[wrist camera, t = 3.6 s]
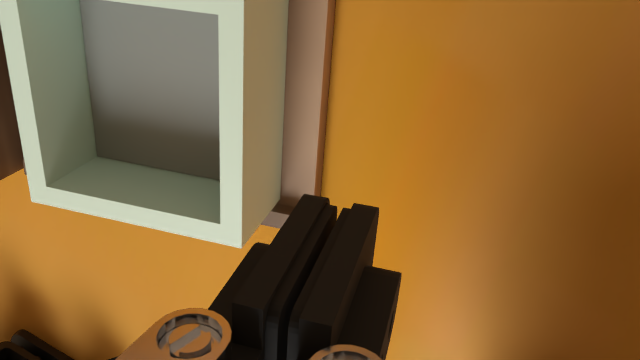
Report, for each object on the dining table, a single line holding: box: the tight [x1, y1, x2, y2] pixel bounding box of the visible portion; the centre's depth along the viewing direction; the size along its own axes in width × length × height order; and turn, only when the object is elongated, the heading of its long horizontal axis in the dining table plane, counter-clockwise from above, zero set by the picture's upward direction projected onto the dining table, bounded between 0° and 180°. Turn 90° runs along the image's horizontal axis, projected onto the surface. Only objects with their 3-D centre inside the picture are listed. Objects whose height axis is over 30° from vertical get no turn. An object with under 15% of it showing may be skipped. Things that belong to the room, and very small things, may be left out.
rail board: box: [0, 0, 336, 229], centre depth 23 cm, size 17×12×9 cm
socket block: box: [0, 0, 289, 248], centre depth 23 cm, size 10×10×4 cm
